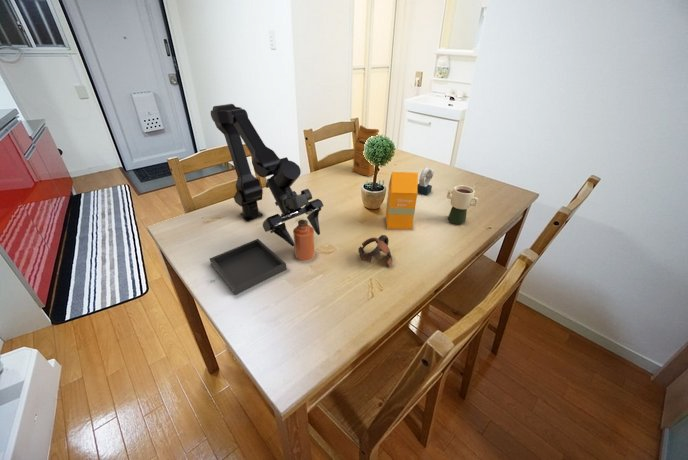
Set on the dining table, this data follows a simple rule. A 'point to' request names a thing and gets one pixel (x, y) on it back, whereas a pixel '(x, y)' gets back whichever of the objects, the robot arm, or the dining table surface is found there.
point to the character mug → (460, 203)
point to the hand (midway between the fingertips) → (306, 240)
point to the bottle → (304, 241)
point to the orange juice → (401, 200)
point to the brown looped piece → (376, 249)
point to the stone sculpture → (425, 181)
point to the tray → (247, 265)
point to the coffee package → (359, 160)
